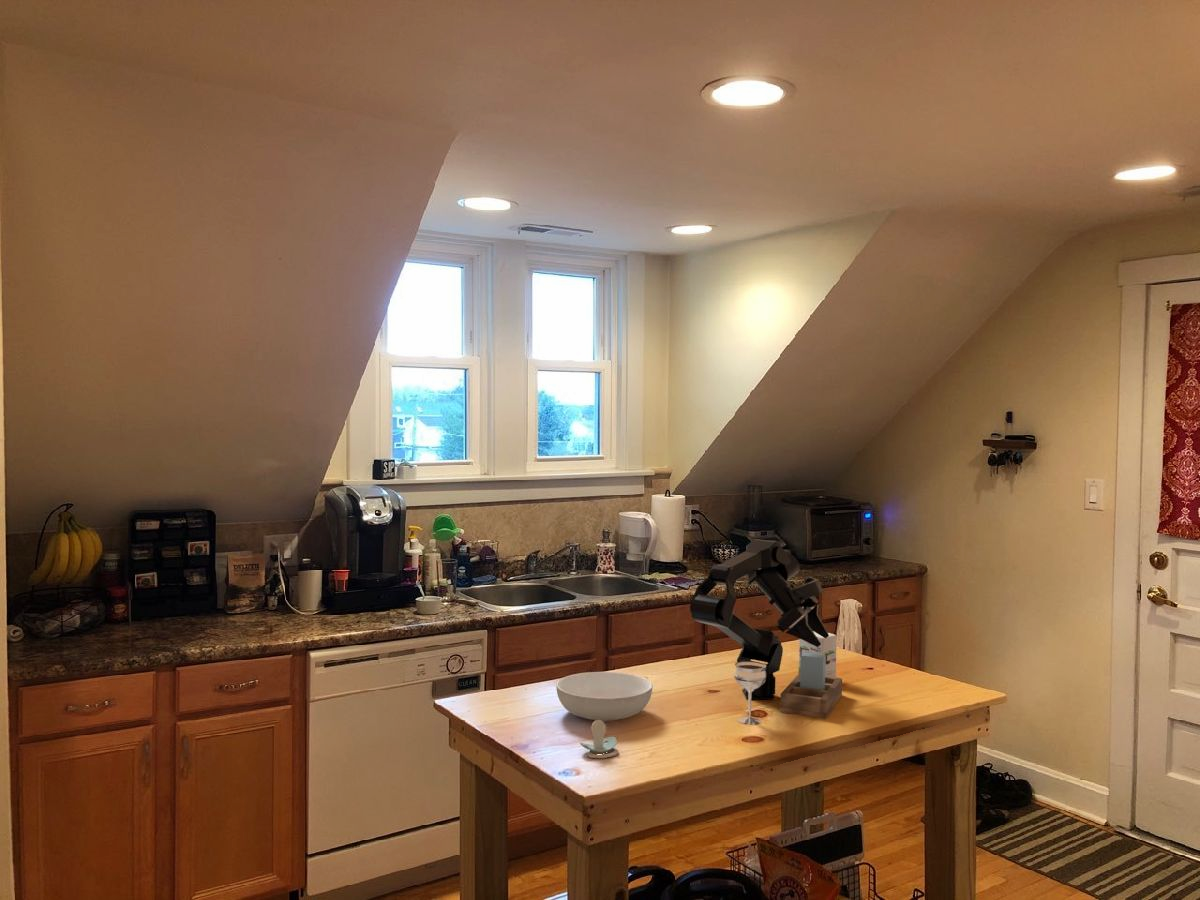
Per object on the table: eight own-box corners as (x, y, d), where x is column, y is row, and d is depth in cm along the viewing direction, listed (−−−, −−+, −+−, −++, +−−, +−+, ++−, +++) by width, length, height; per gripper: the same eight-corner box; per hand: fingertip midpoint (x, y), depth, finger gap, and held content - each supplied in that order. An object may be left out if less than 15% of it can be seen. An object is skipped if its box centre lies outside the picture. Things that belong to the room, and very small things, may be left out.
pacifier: (625, 757, 176) (609, 746, 182) (626, 724, 176) (610, 714, 181) (591, 763, 173) (576, 752, 178) (592, 730, 173) (577, 720, 178)
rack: (780, 711, 204) (780, 693, 204) (799, 689, 221) (799, 672, 221) (825, 718, 200) (826, 700, 200) (841, 695, 217) (842, 678, 217)
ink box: (797, 676, 232) (798, 630, 232) (811, 674, 235) (812, 628, 234) (822, 685, 225) (823, 637, 224) (836, 682, 228) (837, 634, 227)
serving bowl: (661, 705, 208) (661, 674, 208) (639, 735, 188) (640, 702, 187) (572, 696, 213) (572, 666, 213) (542, 725, 193) (542, 692, 193)
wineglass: (754, 728, 193) (755, 671, 193) (727, 721, 197) (728, 665, 197) (771, 720, 198) (772, 664, 198) (744, 713, 203) (745, 659, 202)
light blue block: (799, 699, 210) (800, 655, 210) (802, 695, 213) (803, 652, 212) (822, 702, 208) (823, 658, 208) (824, 698, 211) (825, 655, 210)
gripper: (792, 572, 206) (842, 627, 202) (810, 561, 223) (856, 611, 219) (757, 604, 209) (805, 658, 205) (777, 590, 226) (821, 640, 222)
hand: (823, 641), depth 213 cm, fingers open, 9 cm apart
